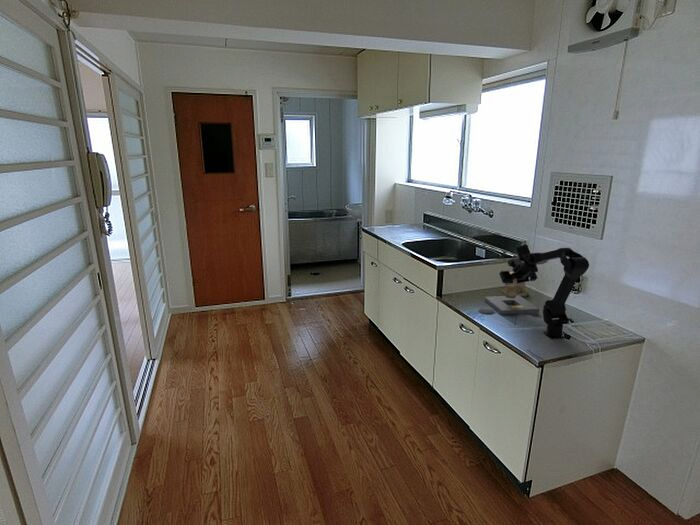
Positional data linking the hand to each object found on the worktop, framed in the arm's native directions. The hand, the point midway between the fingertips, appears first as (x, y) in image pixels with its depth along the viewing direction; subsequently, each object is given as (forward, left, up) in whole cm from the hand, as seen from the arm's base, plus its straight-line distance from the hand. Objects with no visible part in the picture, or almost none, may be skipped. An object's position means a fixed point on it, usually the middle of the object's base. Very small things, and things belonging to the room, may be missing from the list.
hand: (510, 283), depth 208 cm
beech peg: (-1, 0, -7) cm, 7 cm away
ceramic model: (+20, -14, -14) cm, 28 cm away
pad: (-7, +15, -13) cm, 21 cm away
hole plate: (-1, -1, -13) cm, 14 cm away
